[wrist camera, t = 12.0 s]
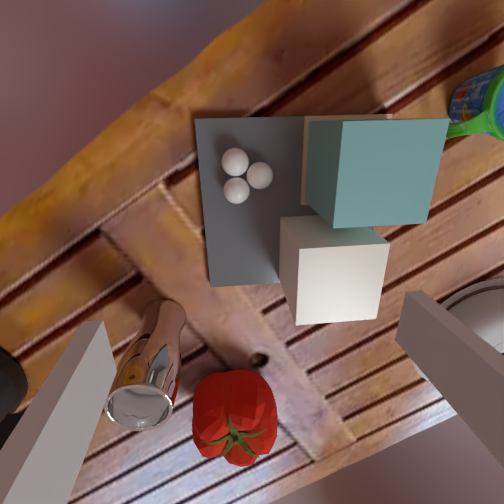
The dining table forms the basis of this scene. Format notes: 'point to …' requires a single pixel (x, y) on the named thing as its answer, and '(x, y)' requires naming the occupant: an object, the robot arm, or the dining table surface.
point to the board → (253, 192)
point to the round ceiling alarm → (480, 313)
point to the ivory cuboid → (330, 270)
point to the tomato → (234, 416)
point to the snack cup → (479, 105)
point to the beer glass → (149, 370)
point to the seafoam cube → (373, 170)
